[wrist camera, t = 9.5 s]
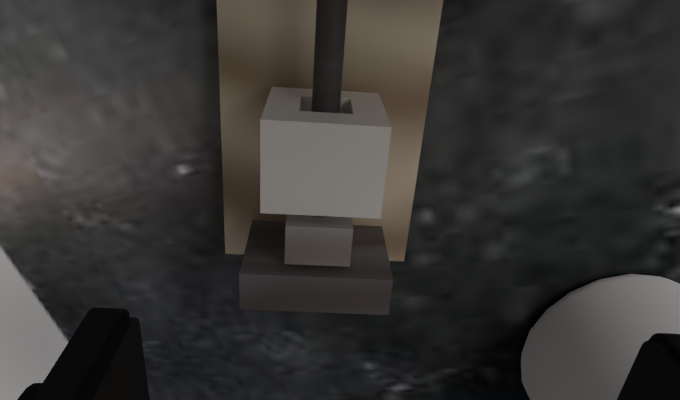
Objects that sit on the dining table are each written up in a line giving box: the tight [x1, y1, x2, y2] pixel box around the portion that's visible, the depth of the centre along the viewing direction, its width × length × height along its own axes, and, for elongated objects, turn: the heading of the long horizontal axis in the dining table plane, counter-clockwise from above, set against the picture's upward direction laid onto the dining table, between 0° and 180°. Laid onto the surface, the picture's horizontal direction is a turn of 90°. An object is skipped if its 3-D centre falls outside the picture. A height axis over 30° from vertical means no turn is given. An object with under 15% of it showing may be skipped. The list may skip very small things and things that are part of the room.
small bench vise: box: [217, 0, 443, 315], centre depth 23 cm, size 20×10×6 cm, turn 176°
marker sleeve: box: [260, 87, 392, 219], centre depth 23 cm, size 4×5×5 cm
